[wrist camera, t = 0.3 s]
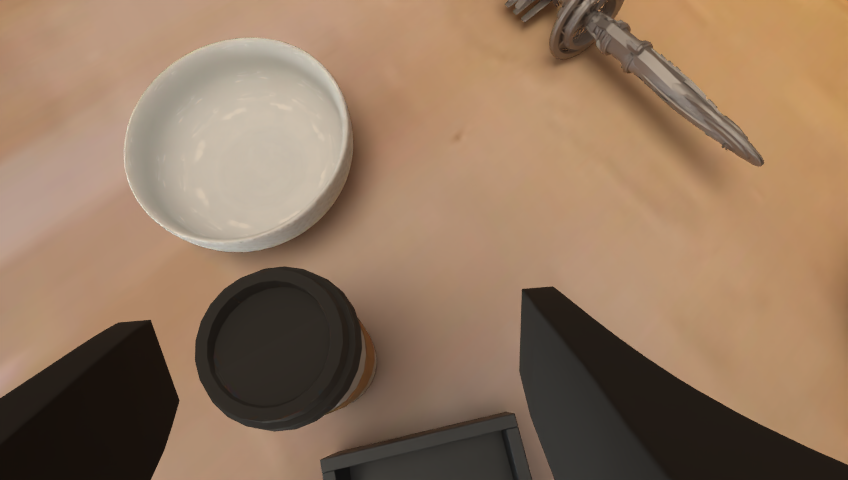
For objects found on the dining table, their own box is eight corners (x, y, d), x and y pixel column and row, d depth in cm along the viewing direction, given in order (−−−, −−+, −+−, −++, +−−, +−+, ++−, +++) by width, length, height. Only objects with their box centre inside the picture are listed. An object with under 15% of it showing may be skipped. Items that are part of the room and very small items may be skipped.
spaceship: (722, 190, 34) (831, 100, 32) (414, -85, 46) (479, -160, 45) (711, 212, 41) (800, 140, 39) (447, -31, 53) (504, -94, 52)
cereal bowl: (381, 243, 42) (367, 213, 35) (179, 289, 42) (126, 267, 35) (346, 68, 47) (328, 13, 40) (165, 108, 47) (117, 59, 40)
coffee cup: (264, 341, 40) (159, 309, 26) (360, 289, 41) (310, 230, 27) (309, 443, 38) (221, 469, 24) (410, 385, 39) (384, 377, 24)
